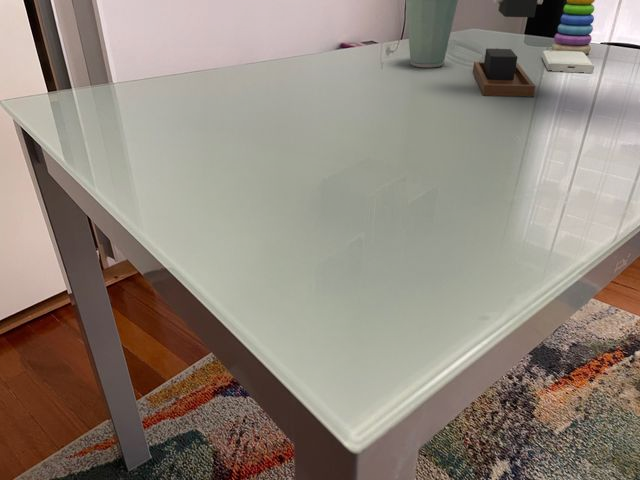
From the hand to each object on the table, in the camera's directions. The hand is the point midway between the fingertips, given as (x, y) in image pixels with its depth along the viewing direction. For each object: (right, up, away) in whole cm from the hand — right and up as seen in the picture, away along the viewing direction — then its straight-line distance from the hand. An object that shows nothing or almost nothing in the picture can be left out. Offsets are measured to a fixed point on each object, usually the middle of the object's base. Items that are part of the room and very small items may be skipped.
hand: (517, 3), depth 84 cm
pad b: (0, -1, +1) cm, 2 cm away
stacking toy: (+24, +3, +32) cm, 40 cm away
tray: (+1, -10, +10) cm, 14 cm away
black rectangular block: (+1, -8, +12) cm, 15 cm away
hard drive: (+18, -3, +22) cm, 28 cm away
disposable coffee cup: (-10, -2, +23) cm, 25 cm away
